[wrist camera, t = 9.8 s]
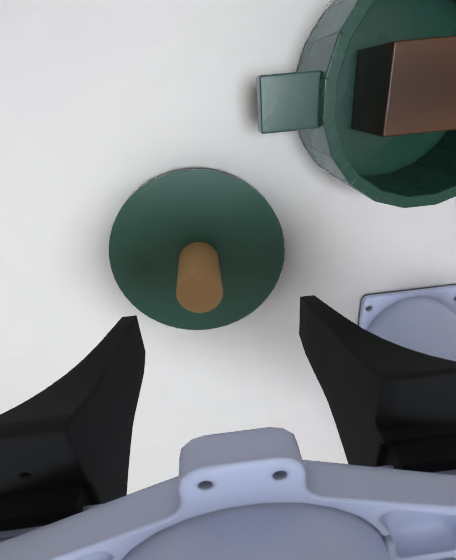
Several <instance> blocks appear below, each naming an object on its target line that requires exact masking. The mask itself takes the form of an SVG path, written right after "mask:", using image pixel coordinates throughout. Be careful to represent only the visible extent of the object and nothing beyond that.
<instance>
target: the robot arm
mask: <svg viewBox="0 0 456 560" xmlns="http://www.w3.org/2000/svg"><path fill="white" fill-rule="evenodd" d="M455 296H456V285H451V286H443V287H434V288H426V289H417V290H409V291H400V292H392V293H383V294H375V295H368V296H365V297H364V298H363V299H362V302H361V311H360V319H359V326H358V325H356V324H355V323H353V322H351V321H350V320H348V319H347V318H345V317H344V316H342V315H341V314H339V313H338V312H336V311H335V310H334V309H332V308H331V307H329V306H328V305H327V304H325V303H324V302H323V301H321V300H320V299H319V298H317V297H316V296H314V295H313V296H304V297H300V327H299V335H300V338H301V341H302V345H303V348H304V351H305V354H306V356H307V358H308V360H309V362H310V364H311V366H312V369H313V371H314V373H315V375H316V377H317V379H318V381H319V383H320V385H321V387H322V389H323V391H324V394H325V396H326V398H327V401H328V403H329V406H330V409H331V412H332V415H333V417H334V420H335V423H336V426H337V429H338V432H339V435H340V439H341V442H342V445H343V448H344V451H345V454H346V458H347V461H348V464H339V463H330V462H320V461H310V460H302V457H301V454H300V451H299V447H298V444H297V441H296V439H295V436H294V434H292V433H291V432H289V431H287V430H285V429H283V428H273V427H267V428H259V429H251V430H243V431H235V432H228V433H220V434H212V435H205V436H202V437H198V438H195V439H192V440H191V441H189V442H188V443H187V444H186V445H185V446H184V447H183V448H182V449H181V453H180V459H179V476H177V477H175V478H172V479H169V480H167V481H164V482H161V483H158V484H156V485H153V486H150V487H148V488H145V489H142V490H140V491H137V492H134V493H132V494H129V495H127V481H128V468H129V456H130V446H131V436H132V427H133V421H134V416H135V411H136V407H137V402H138V398H139V393H140V389H141V384H142V379H143V374H144V366H145V349H144V344H143V340H142V336H141V332H140V328H139V324H138V320H137V316H128V317H122V318H121V319H120V320H119V321H118V322H117V324H116V325H115V326H114V327H113V328H112V329H111V331H110V332H109V333H108V334H107V335H106V336H105V337H104V339H103V340H102V341H101V342H100V343H99V344H98V345H97V346H96V347H95V348H94V349H93V350H92V351H91V352H90V353H89V354H88V355H87V356H86V357H85V358H84V359H83V360H82V361H81V362H80V363H79V364H78V365H77V366H75V367H74V368H73V369H72V370H71V371H69V372H68V373H67V374H66V375H64V376H63V377H62V378H60V379H59V380H58V381H56V382H55V383H53V384H52V385H51V386H49V387H48V388H46V389H45V390H43V391H42V392H40V393H39V394H37V395H35V396H34V397H32V398H30V399H29V400H27V401H25V402H24V403H22V404H20V405H18V406H16V407H14V408H12V409H11V410H9V411H7V412H5V413H3V414H1V415H0V560H456V297H455ZM454 297H455V298H454ZM367 306H370V307H369V308H367V309H366V307H367Z"/></svg>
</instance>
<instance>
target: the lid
mask: <svg viewBox="0 0 456 560" xmlns="http://www.w3.org/2000/svg"><path fill="white" fill-rule="evenodd" d="M284 250H285V249H284V238H283V234H282V229H281V226H280V224H279V221H278V219H277V217H276V215H275V213H274V211H273V210H272V208H271V207H270V205H269V204H268V203H267V201H266V200H265V199H264V198H263V197H262V196H261V195H260V194H259V193H258V192H257V191H256V190H255V189H254V188H253V187H251V186H250V185H249V184H247V183H246V182H244V181H242V180H240V179H238V178H237V177H234V176H232V175H229V174H227V173H224V172H219V171H215V170H210V169H200V168H199V169H183V170H178V171H173V172H170V173H167V174H163V175H161V176H159V177H157V178H155V179H153V180H151V181H149V182H148V183H146V184H145V185H143V186H142V187H140V188H139V189H138V190H137V191H136V192H135V193H133V194H132V195H131V197H130V198H129V199H128V200H127V201H126V202H125V204H124V205H123V207H122V208H121V210H120V212H119V213H118V215H117V217H116V219H115V222H114V224H113V227H112V231H111V235H110V241H109V259H110V264H111V269H112V272H113V275H114V278H115V280H116V282H117V284H118V286H119V288H120V289H121V291H122V292H123V294H124V295H125V296H126V298H127V299H128V300H129V301H130V302H131V303H132V304H133V305H134V306H135V307H136V308H137V309H138V310H140V311H141V312H142V313H144V314H145V315H147V316H148V317H150V318H152V319H154V320H156V321H158V322H160V323H163V324H165V325H168V326H172V327H176V328H181V329H188V330H204V329H212V328H218V327H222V326H225V325H228V324H231V323H233V322H236V321H238V320H240V319H242V318H244V317H245V316H247V315H248V314H250V313H251V312H253V311H254V310H255V309H256V308H258V307H259V306H260V305H261V304H262V303H263V302H264V301H265V299H266V298H267V297H268V296H269V295H270V293H271V292H272V290H273V289H274V287H275V285H276V283H277V281H278V279H279V276H280V273H281V270H282V266H283V261H284Z"/></svg>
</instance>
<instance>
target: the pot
mask: <svg viewBox="0 0 456 560" xmlns="http://www.w3.org/2000/svg"><path fill="white" fill-rule="evenodd" d="M445 36H456V0H335V1H334V2H333V4H332V5H331V6H330V7H329V8H328V9H327V10H326V12H325V13H324V14H323V15H322V17H321V18H320V20H319V21H318V23H317V24H316V26H315V27H314V29H313V31H312V33H311V34H310V36H309V38H308V40H307V42H306V45H305V47H304V49H303V52H302V54H301V57H300V61H299V64H298V68H297V72H293V73H282V74H272V75H261V76H257V78H256V81H257V107H258V130H259V132H261V133H262V134H265V133H275V132H285V131H295V130H298V131H299V134H300V137H301V139H302V141H303V143H304V146H305V147H306V149H307V150H308V152H309V154H310V155H311V156H312V158H313V159H314V160H315V161H316V162H317V163H318V165H319V166H320V167H322V168H323V169H325V170H326V171H327V172H329V173H330V174H332V175H333V176H335V177H336V178H338V179H339V180H341V181H343V182H344V183H346V184H347V185H349V186H351V187H352V188H354V189H356V190H357V191H359V192H360V193H362V194H364V195H365V196H367V197H369V198H370V199H372V200H373V201H376V202H380V203H384V204H389V205H393V206H398V207H402V208H403V207H404V208H408V207H418V206H427V205H435V204H438V203H441V202H443V201H445V200H448V199H450V198H453V197H455V196H456V130H449V131H439V132H429V133H419V134H409V135H400V136H390V137H381V136H377V135H373V134H369V133H365V132H361V131H357V130H353V129H352V119H353V107H354V94H355V82H356V70H357V57H358V50H360V49H364V48H368V47H373V46H377V45H381V44H385V43H389V42H393V41H401V40H412V39H423V38H434V37H445Z"/></svg>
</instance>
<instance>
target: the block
mask: <svg viewBox="0 0 456 560" xmlns="http://www.w3.org/2000/svg"><path fill="white" fill-rule="evenodd" d="M352 129H353V130H357V131H361V132H365V133H369V134H373V135H377V136H381V137H390V136H400V135H409V134H419V133H429V132H439V131H449V130H456V36H445V37H434V38H423V39H412V40H401V41H393V42H389V43H385V44H381V45H377V46H373V47H368V48H364V49H360V50H358V57H357V70H356V82H355V94H354V107H353V119H352Z"/></svg>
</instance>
